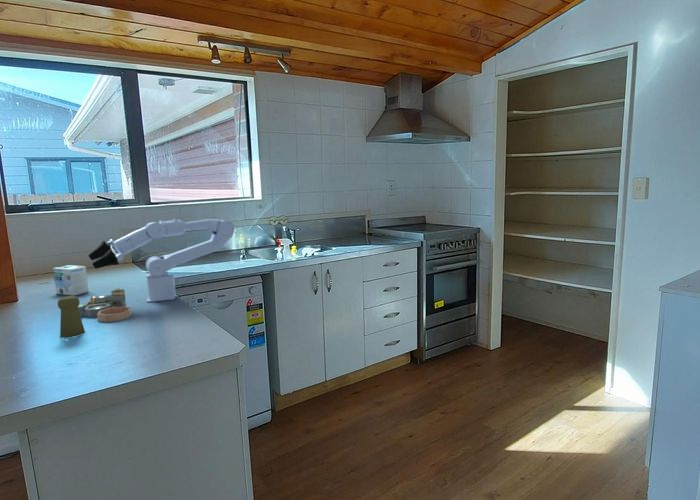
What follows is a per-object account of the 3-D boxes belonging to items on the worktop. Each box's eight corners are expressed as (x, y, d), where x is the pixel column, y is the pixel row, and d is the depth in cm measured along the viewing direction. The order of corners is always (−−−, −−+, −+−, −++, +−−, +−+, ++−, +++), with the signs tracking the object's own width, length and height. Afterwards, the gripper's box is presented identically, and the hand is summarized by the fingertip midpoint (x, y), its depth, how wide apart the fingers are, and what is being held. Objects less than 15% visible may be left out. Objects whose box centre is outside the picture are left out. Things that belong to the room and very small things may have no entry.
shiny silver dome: (107, 307, 145) (107, 305, 145) (105, 311, 140) (104, 308, 140) (91, 309, 143) (90, 306, 143) (87, 313, 139) (87, 310, 139)
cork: (58, 339, 118) (53, 300, 117) (61, 332, 124) (56, 296, 122) (84, 335, 121) (79, 297, 120) (85, 329, 126) (81, 293, 125)
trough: (120, 303, 154) (119, 298, 154) (117, 307, 149) (117, 301, 149) (88, 306, 151) (88, 301, 151) (85, 311, 146) (84, 305, 145)
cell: (127, 306, 149) (125, 287, 148) (125, 310, 146) (123, 289, 145) (114, 308, 148) (111, 288, 147) (112, 311, 144) (109, 290, 143)
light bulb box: (55, 294, 172) (52, 267, 170) (71, 290, 178) (68, 264, 176) (73, 296, 168) (70, 269, 166) (89, 291, 174) (86, 265, 172)
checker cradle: (112, 309, 147) (111, 299, 146) (108, 315, 140) (107, 305, 139) (81, 312, 143) (80, 303, 143) (76, 319, 137) (75, 308, 136)
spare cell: (114, 304, 153) (113, 293, 153) (112, 307, 149) (111, 296, 149) (91, 307, 151) (90, 295, 150) (89, 309, 147) (88, 298, 146)
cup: (132, 311, 143) (132, 305, 143) (129, 319, 135) (128, 312, 135) (101, 315, 140) (101, 308, 140) (96, 323, 132) (95, 316, 131)
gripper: (119, 226, 155) (81, 245, 149) (129, 240, 145) (88, 260, 139) (129, 242, 159) (92, 260, 153) (139, 256, 149) (100, 277, 143)
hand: (91, 261), depth 146 cm, fingers open, 7 cm apart
